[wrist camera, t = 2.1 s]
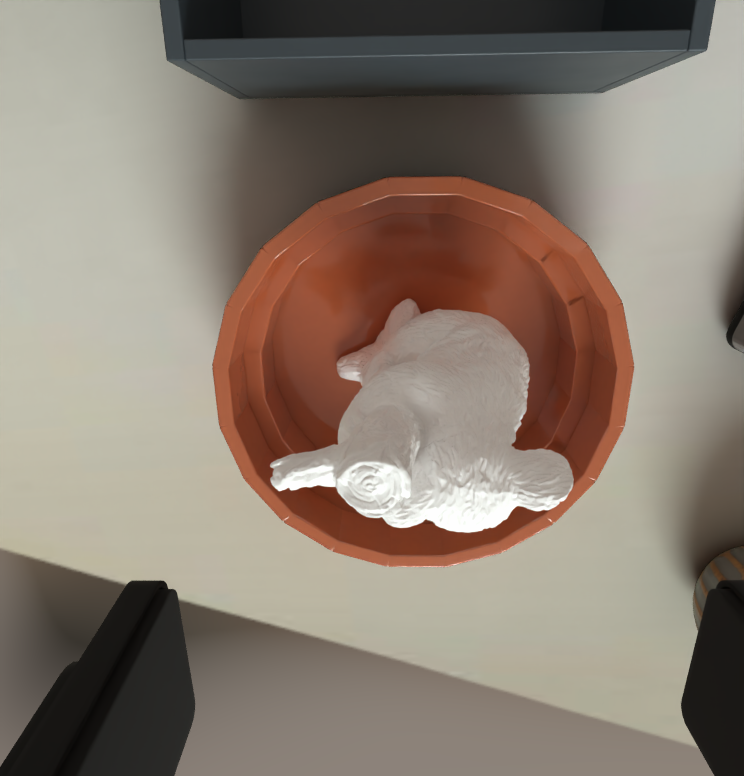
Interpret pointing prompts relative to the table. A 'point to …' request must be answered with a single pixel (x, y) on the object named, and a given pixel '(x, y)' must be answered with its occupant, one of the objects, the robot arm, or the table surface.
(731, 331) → the external hard drive
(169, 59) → the bin
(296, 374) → the bowl
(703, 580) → the vase
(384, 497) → the koala figurine
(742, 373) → the table surface
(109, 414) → the table surface
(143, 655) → the robot arm
